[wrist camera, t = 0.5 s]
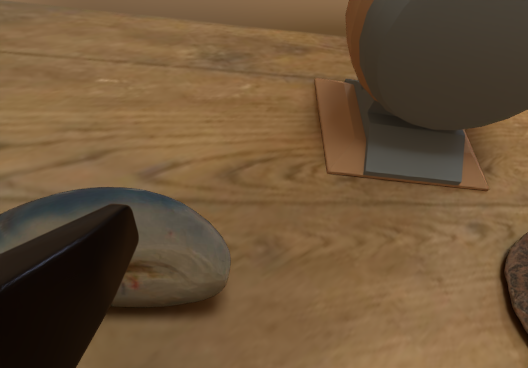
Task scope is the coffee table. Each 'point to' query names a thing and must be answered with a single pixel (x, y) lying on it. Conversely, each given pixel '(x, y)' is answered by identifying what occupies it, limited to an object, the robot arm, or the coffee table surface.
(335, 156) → the alarm clock
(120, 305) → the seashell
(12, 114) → the coffee table surface
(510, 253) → the rock
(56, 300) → the robot arm
